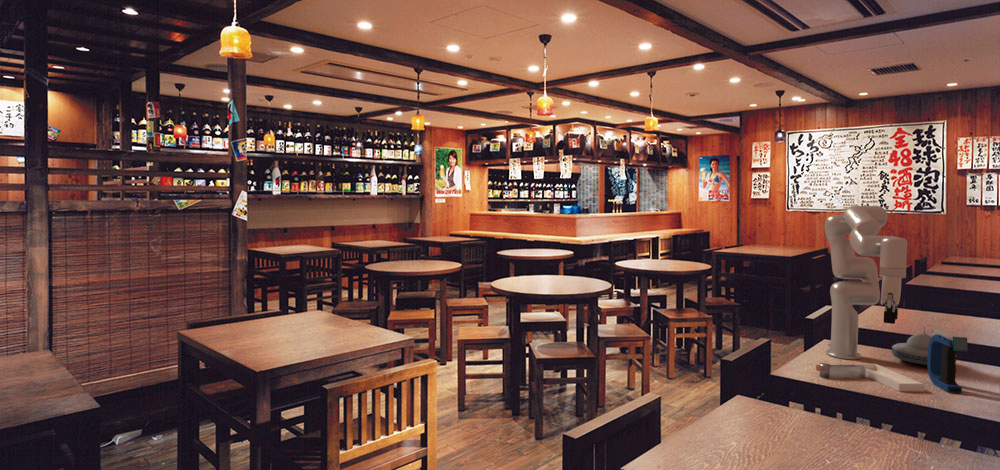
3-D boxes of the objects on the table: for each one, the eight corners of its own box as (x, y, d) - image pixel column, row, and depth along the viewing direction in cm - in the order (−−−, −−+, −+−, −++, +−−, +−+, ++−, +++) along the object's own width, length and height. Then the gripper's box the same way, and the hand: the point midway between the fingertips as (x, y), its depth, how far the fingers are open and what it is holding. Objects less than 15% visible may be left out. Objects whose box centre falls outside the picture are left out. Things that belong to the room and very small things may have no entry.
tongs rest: (853, 370, 207) (853, 363, 207) (875, 370, 207) (875, 363, 207) (898, 391, 183) (899, 383, 183) (923, 391, 183) (924, 383, 183)
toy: (970, 371, 206) (972, 333, 205) (916, 371, 206) (917, 332, 205) (928, 356, 226) (930, 321, 226) (879, 356, 227) (881, 321, 226)
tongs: (819, 377, 197) (819, 365, 197) (813, 374, 201) (814, 363, 201) (865, 378, 197) (866, 366, 197) (859, 375, 201) (859, 363, 201)
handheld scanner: (950, 394, 180) (954, 337, 179) (924, 379, 196) (928, 326, 195) (966, 396, 179) (970, 338, 178) (939, 381, 195) (943, 327, 193)
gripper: (882, 269, 197) (880, 316, 198) (876, 273, 184) (874, 323, 184) (907, 271, 192) (905, 318, 193) (904, 275, 179) (901, 326, 180)
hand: (890, 321), depth 189 cm, fingers open, 9 cm apart
